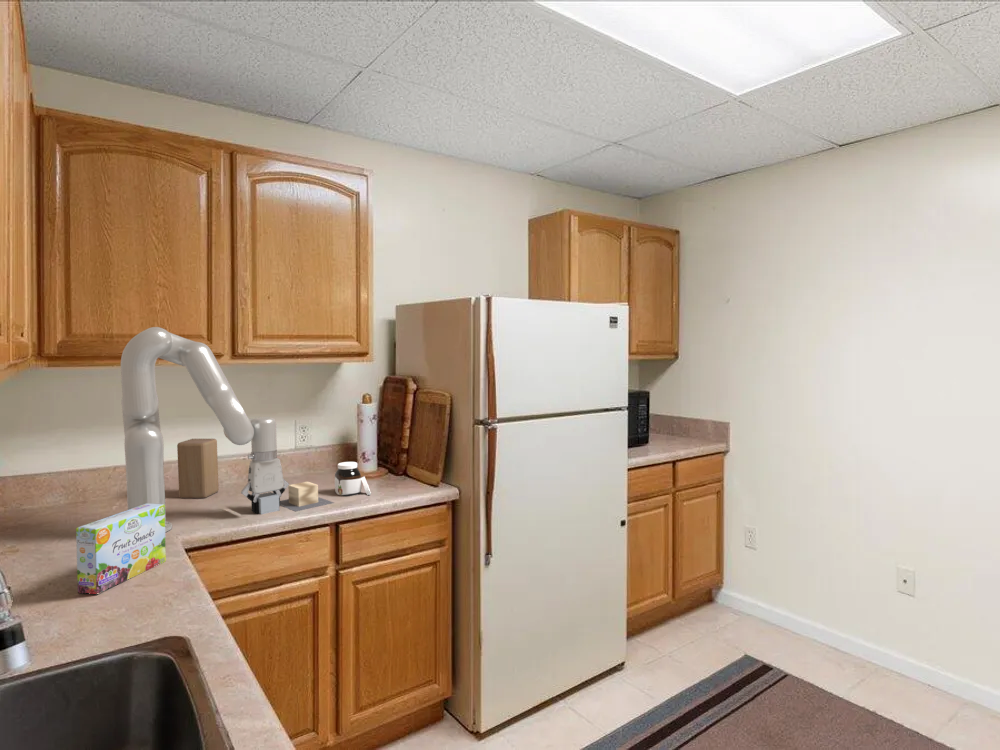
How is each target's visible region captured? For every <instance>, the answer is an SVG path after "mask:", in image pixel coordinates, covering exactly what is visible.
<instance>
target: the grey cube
mask: <svg viewBox="0 0 1000 750" xmlns="http://www.w3.org/2000/svg"><path fill="white" fill-rule="evenodd" d="M257 502H259V514H258V515H265V514H270V513H274V512H279V511H280V506H279V495H277V494H274V493H273V491H270V492H265V493H260V494H259V497H258V499H257Z"/></svg>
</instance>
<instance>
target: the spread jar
mask: <svg viewBox="0 0 1000 750" xmlns="http://www.w3.org/2000/svg"><path fill="white" fill-rule="evenodd" d="M362 485H363V489H364V491H365V493H366V495H367V496H371V494H372V492H371V490H370V487H369V484H368V482H367V479H366V477H365V475H364V476H362V475H361V472H360V470H359V469H358V462H356V461H343V462H339V463H337V470H336V471H335V473H334V489H335V490H334V491H335V494H337V495H338V496H341V497H352V496H356V495H360V494H361V493H362Z"/></svg>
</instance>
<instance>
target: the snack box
mask: <svg viewBox="0 0 1000 750" xmlns="http://www.w3.org/2000/svg"><path fill="white" fill-rule="evenodd" d="M165 509H166V503H165V504H148V503H147V504H144V505H141V506H138V507H135V508H132V509H129V510H128V509H127V510H124V511H121V512H118V513H115V514H113V515H110V516H107V517H104V518H101V519H98V520H95V521H92V522H89V523H87V524H84V525H83V524H82V525H81V526H78V527H76V528H75V531H76V533H75V537H76V541H75V542H76V570H77V571H76V573H77V576H76V577H77V594H83V593H90V594H97V593H100V592H102V591H104V590H106V589H108V588H110V587H112V588H114V587H116V586H118V585H120V584H122V583H124V582H126V581H128V579H129V580H131V579H132V577H133V578H135V577H137V576H138V575H140V574H142V573H145V572H147V571H149V570H151V569H153V568H155V567H157V566H159V565H161V564H163V563H166V561H167V553H166V552H167V551H166V547H167V546H166V545H167V544H166V532H165ZM162 562H163V563H162ZM160 563H161V564H160ZM158 564H159V565H158ZM156 565H157V566H156ZM154 566H155V567H154ZM130 578H131V579H130ZM119 583H120V584H119ZM117 584H118V585H117ZM115 585H116V586H115ZM113 586H114V587H113ZM110 589H111V588H110ZM108 590H109V589H108ZM106 591H107V590H106ZM104 592H105V591H104ZM102 593H103V592H102ZM90 594H89V595H90ZM100 594H101V593H100Z"/></svg>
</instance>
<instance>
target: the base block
mask: <svg viewBox="0 0 1000 750" xmlns="http://www.w3.org/2000/svg"><path fill="white" fill-rule="evenodd" d="M287 488H288V499H289V503H291V504H294V505H296V506H304V505H308V504H313V503H318V497H319V485H318V484H316V483H313V482H310V481H303V482H298V483H293V484H289V485H288V487H287Z"/></svg>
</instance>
